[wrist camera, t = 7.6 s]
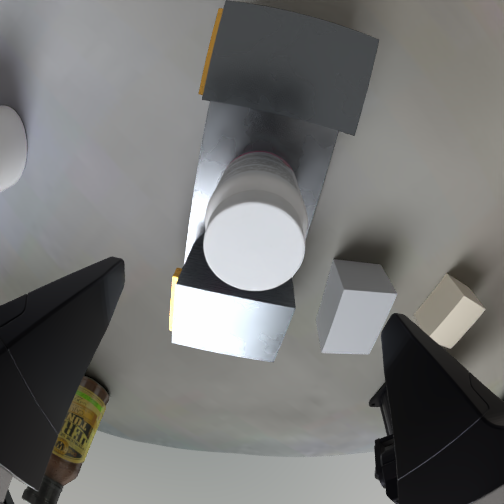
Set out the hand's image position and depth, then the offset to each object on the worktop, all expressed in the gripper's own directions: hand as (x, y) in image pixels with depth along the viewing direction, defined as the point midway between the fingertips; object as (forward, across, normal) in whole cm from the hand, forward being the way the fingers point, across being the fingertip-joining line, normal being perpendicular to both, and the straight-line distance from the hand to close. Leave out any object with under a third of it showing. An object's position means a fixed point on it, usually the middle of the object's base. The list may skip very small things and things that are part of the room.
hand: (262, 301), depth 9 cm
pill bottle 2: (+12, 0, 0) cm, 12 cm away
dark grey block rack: (+12, 0, 0) cm, 12 cm away
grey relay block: (+12, -8, +7) cm, 16 cm away
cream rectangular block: (+12, -18, +6) cm, 23 cm away
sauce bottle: (+12, +16, +30) cm, 36 cm away
